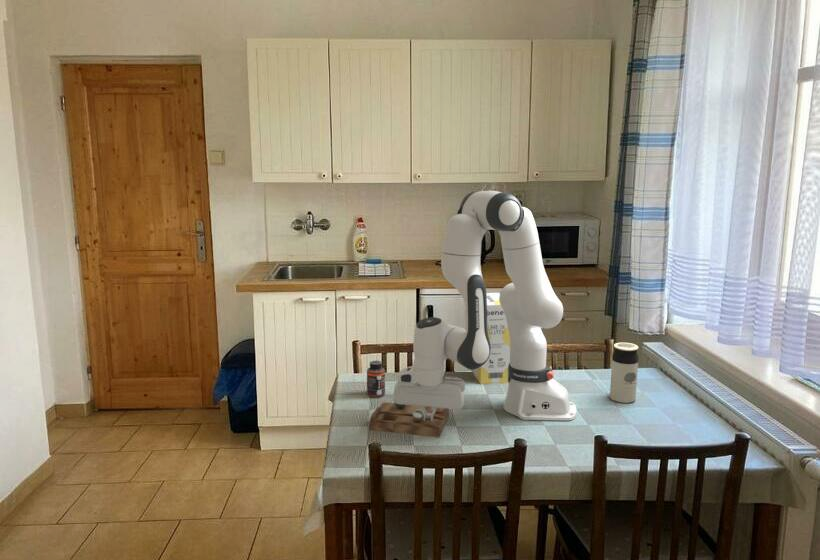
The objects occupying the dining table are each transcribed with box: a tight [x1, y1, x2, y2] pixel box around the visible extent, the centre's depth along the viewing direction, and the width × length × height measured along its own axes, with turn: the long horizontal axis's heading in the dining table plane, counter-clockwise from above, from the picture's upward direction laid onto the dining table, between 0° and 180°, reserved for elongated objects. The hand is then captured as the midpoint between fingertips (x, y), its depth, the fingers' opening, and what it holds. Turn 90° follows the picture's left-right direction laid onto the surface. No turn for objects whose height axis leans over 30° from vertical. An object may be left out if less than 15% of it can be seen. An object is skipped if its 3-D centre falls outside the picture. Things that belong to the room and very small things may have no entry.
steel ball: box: [412, 409, 424, 421], centre depth 190 cm, size 4×4×4 cm
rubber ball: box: [394, 402, 405, 408], centre depth 199 cm, size 4×4×4 cm
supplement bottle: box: [366, 360, 386, 398], centre depth 215 cm, size 6×6×11 cm
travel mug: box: [609, 342, 640, 404], centre depth 211 cm, size 8×8×18 cm
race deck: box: [368, 402, 450, 438], centre depth 194 cm, size 21×15×4 cm
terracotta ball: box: [436, 408, 445, 413], centre depth 196 cm, size 4×4×4 cm
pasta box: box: [471, 292, 510, 385], centre depth 232 cm, size 18×10×28 cm, turn 8°
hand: (428, 420), depth 189 cm, fingers closed
